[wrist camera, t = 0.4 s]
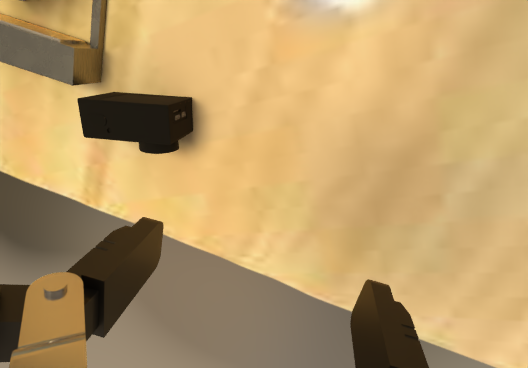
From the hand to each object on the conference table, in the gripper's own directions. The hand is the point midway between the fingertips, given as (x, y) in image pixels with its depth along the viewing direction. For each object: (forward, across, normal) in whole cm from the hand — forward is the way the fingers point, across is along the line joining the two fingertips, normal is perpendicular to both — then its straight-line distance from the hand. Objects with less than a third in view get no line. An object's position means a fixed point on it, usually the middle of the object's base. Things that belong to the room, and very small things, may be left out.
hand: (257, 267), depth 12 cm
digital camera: (+29, +18, +4) cm, 34 cm away
